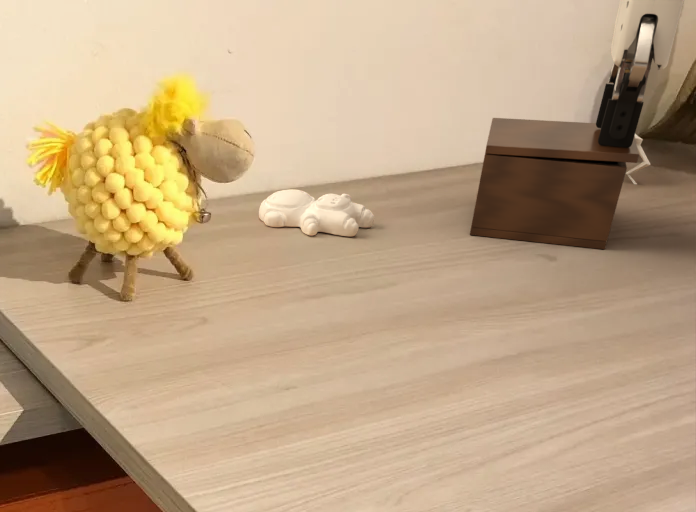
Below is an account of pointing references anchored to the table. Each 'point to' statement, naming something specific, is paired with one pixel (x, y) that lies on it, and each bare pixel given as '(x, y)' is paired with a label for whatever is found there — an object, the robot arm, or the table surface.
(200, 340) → the table surface
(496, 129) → the lid
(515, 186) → the chest
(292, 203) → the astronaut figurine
